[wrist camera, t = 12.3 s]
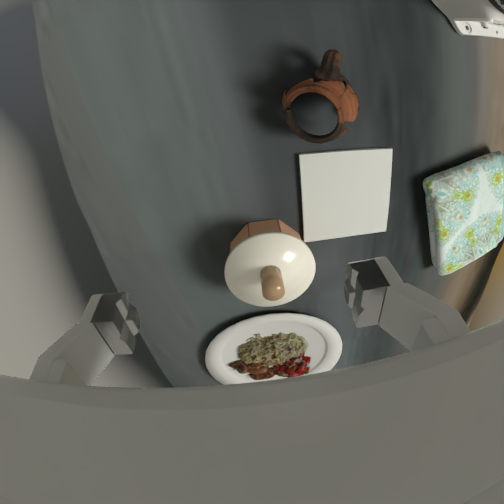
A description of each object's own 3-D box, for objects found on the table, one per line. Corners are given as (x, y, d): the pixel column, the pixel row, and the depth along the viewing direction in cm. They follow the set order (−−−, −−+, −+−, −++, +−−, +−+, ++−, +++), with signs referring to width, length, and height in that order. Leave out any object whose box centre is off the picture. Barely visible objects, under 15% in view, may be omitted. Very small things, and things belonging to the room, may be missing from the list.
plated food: (222, 294, 53) (222, 307, 50) (364, 317, 59) (369, 329, 56) (195, 379, 69) (194, 390, 66) (306, 390, 75) (308, 401, 72)
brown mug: (356, 131, 38) (348, 158, 33) (292, 117, 40) (272, 141, 36) (367, 51, 29) (362, 61, 24) (294, 39, 31) (273, 48, 26)
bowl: (298, 216, 44) (305, 233, 40) (301, 272, 51) (307, 292, 46) (226, 225, 45) (225, 244, 41) (237, 281, 51) (238, 301, 47)
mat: (390, 147, 39) (392, 148, 38) (384, 229, 47) (386, 231, 46) (298, 153, 39) (299, 155, 38) (303, 240, 47) (304, 242, 46)
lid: (313, 225, 40) (322, 245, 36) (314, 296, 47) (320, 318, 43) (216, 238, 40) (214, 260, 36) (232, 307, 47) (233, 330, 43)
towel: (429, 268, 53) (441, 284, 49) (418, 174, 42) (435, 187, 37) (492, 234, 49) (505, 248, 45) (491, 144, 38) (509, 154, 34)
